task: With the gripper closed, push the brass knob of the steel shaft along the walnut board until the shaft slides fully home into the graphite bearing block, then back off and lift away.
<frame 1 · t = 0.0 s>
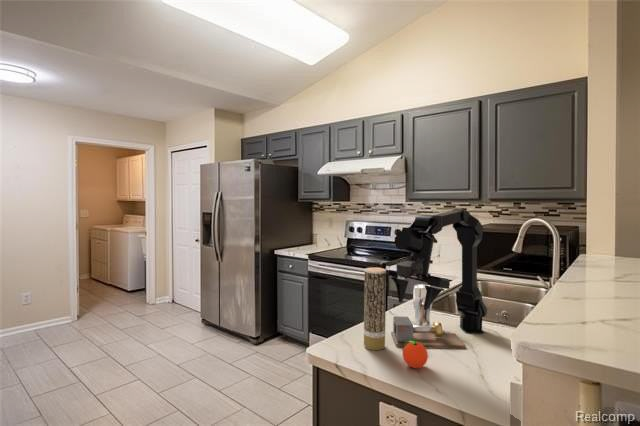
hand: (412, 305, 105), 15 cm above the countertop, tool pointing down, fingers open, 9 cm apart
base board: (426, 341, 116), on the countertop
brown patterned cylinder: (374, 346, 112), on the countertop
clementine: (413, 366, 99), on the countertop
bearing block: (402, 340, 117), resting on base board
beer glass: (422, 326, 130), on the countertop
shaft: (422, 329, 116), point 4 cm above the countertop, slide at 6.0 cm
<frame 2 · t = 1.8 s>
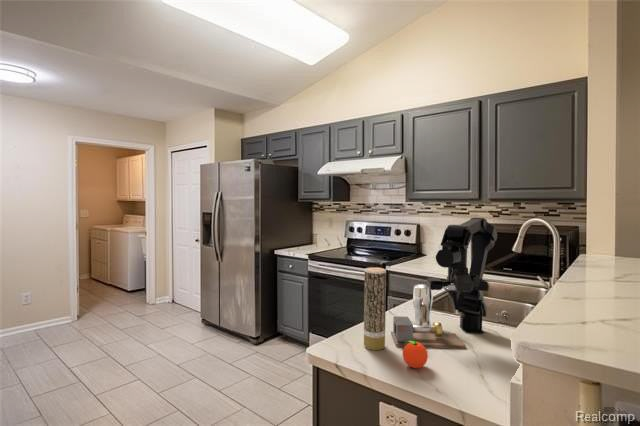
hand: (456, 309, 115), 11 cm above the countertop, tool pointing down, fingers closed
nothing on the countertop moved.
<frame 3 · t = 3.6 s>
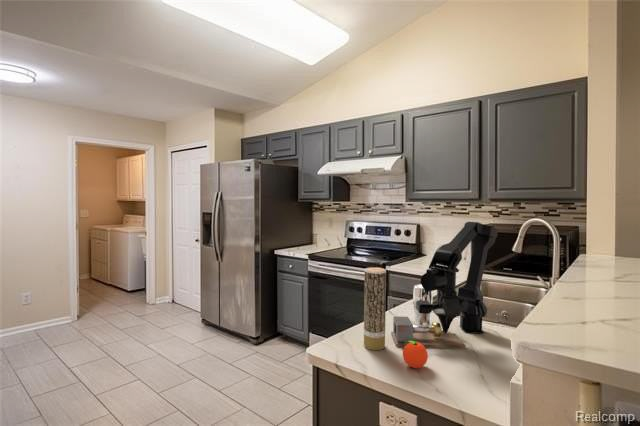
hand: (445, 332, 116), 3 cm above the countertop, tool pointing down, fingers closed
shaft: (421, 329, 116), point 4 cm above the countertop, slide at 5.6 cm, touching gripper
everything else where it was.
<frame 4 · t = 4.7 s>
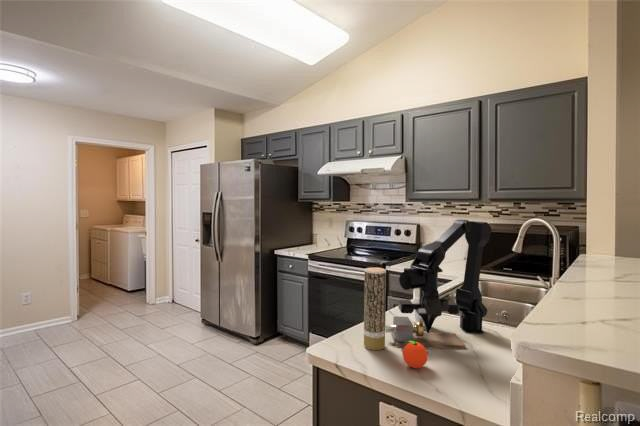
hand: (427, 332, 116), 3 cm above the countertop, tool pointing down, fingers closed
shaft: (404, 328, 116), point 4 cm above the countertop, slide at -0.1 cm, touching gripper
everything else where it was.
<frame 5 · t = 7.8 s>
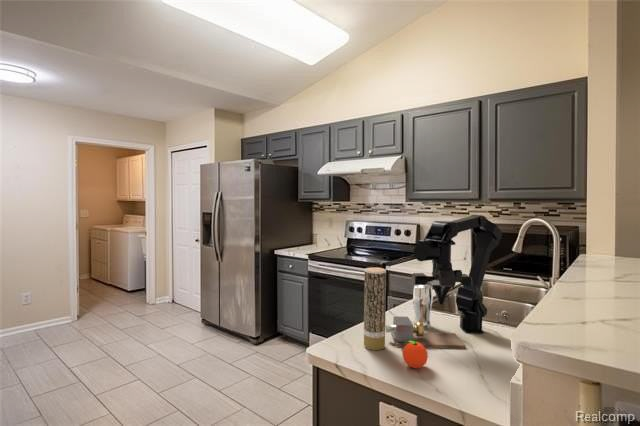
hand: (440, 304, 117), 12 cm above the countertop, tool pointing down, fingers closed
shaft: (404, 328, 116), point 4 cm above the countertop, slide at 0.0 cm
everything else where it was.
at the end: shaft slide at 0.0 cm; brown patterned cylinder moved 0.2 cm from its start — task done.
